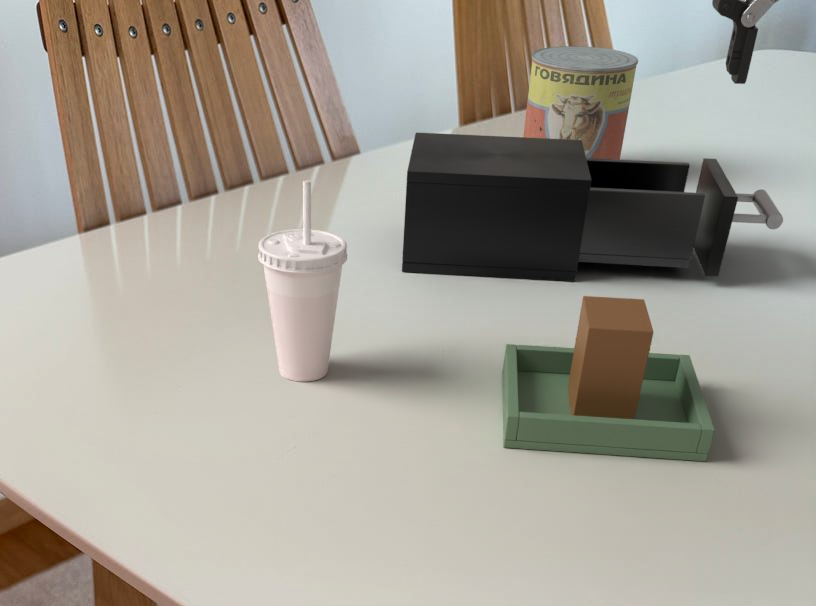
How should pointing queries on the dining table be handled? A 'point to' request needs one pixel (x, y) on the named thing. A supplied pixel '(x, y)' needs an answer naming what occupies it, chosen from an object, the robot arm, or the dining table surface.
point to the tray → (641, 437)
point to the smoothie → (303, 293)
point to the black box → (495, 206)
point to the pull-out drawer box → (664, 214)
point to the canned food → (581, 97)
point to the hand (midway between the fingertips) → (795, 83)
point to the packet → (609, 357)
